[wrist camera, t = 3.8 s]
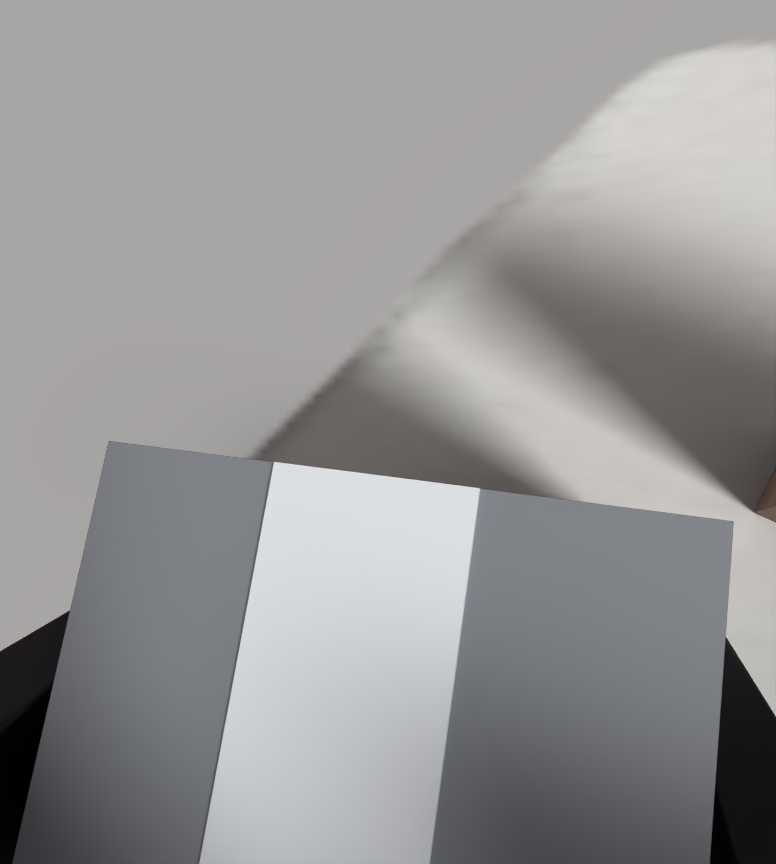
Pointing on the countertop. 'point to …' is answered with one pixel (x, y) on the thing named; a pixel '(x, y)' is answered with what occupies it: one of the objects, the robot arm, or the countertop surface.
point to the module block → (378, 674)
